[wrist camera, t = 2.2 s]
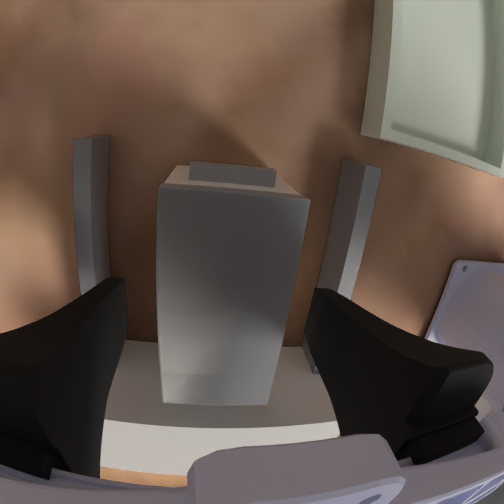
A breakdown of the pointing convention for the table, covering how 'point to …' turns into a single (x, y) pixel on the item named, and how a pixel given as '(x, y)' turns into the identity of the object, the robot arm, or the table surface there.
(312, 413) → the printer bay
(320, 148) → the table surface
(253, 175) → the grey rectangular block
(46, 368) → the robot arm
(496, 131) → the tray
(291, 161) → the table surface
